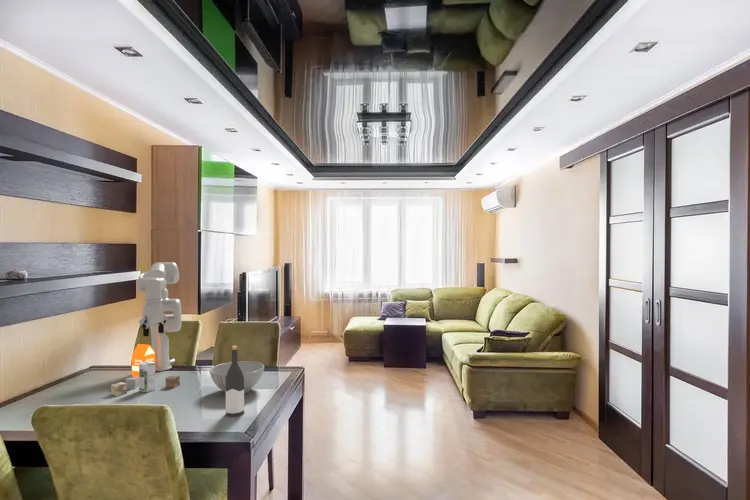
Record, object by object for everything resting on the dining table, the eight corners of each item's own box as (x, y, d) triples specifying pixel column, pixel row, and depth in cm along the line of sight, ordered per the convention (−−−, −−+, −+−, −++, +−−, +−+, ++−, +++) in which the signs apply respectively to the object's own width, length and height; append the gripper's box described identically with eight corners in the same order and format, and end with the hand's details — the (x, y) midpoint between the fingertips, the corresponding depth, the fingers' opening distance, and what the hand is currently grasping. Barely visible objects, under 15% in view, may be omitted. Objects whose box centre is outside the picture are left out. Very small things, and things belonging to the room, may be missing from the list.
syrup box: (138, 391, 230) (138, 363, 230) (148, 387, 235) (148, 360, 235) (145, 392, 227) (145, 364, 227) (156, 389, 232) (155, 361, 232)
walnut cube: (170, 384, 241) (170, 375, 241) (179, 385, 240) (179, 375, 240) (165, 387, 236) (165, 378, 236) (174, 387, 235) (174, 378, 235)
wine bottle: (246, 410, 202) (246, 343, 202) (241, 416, 194) (241, 347, 194) (228, 410, 202) (228, 344, 202) (223, 417, 194) (222, 348, 194)
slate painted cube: (128, 386, 238) (128, 376, 238) (138, 385, 239) (138, 376, 239) (124, 389, 233) (124, 379, 233) (135, 388, 234) (135, 379, 234)
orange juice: (144, 382, 244) (143, 346, 244) (131, 381, 247) (131, 345, 247) (155, 378, 252) (155, 343, 251) (143, 377, 254) (143, 342, 254)
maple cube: (121, 391, 229) (121, 382, 229) (126, 393, 227) (126, 383, 227) (111, 394, 225) (111, 384, 225) (116, 396, 222) (116, 386, 222)
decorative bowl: (207, 402, 212) (207, 377, 212) (212, 385, 238) (211, 363, 238) (265, 397, 220) (265, 372, 220) (263, 381, 245) (263, 359, 245)
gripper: (161, 300, 244) (161, 331, 244) (134, 303, 228) (134, 337, 228) (171, 300, 242) (172, 332, 242) (145, 304, 225) (145, 337, 225)
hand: (153, 334), depth 235 cm, fingers open, 9 cm apart
